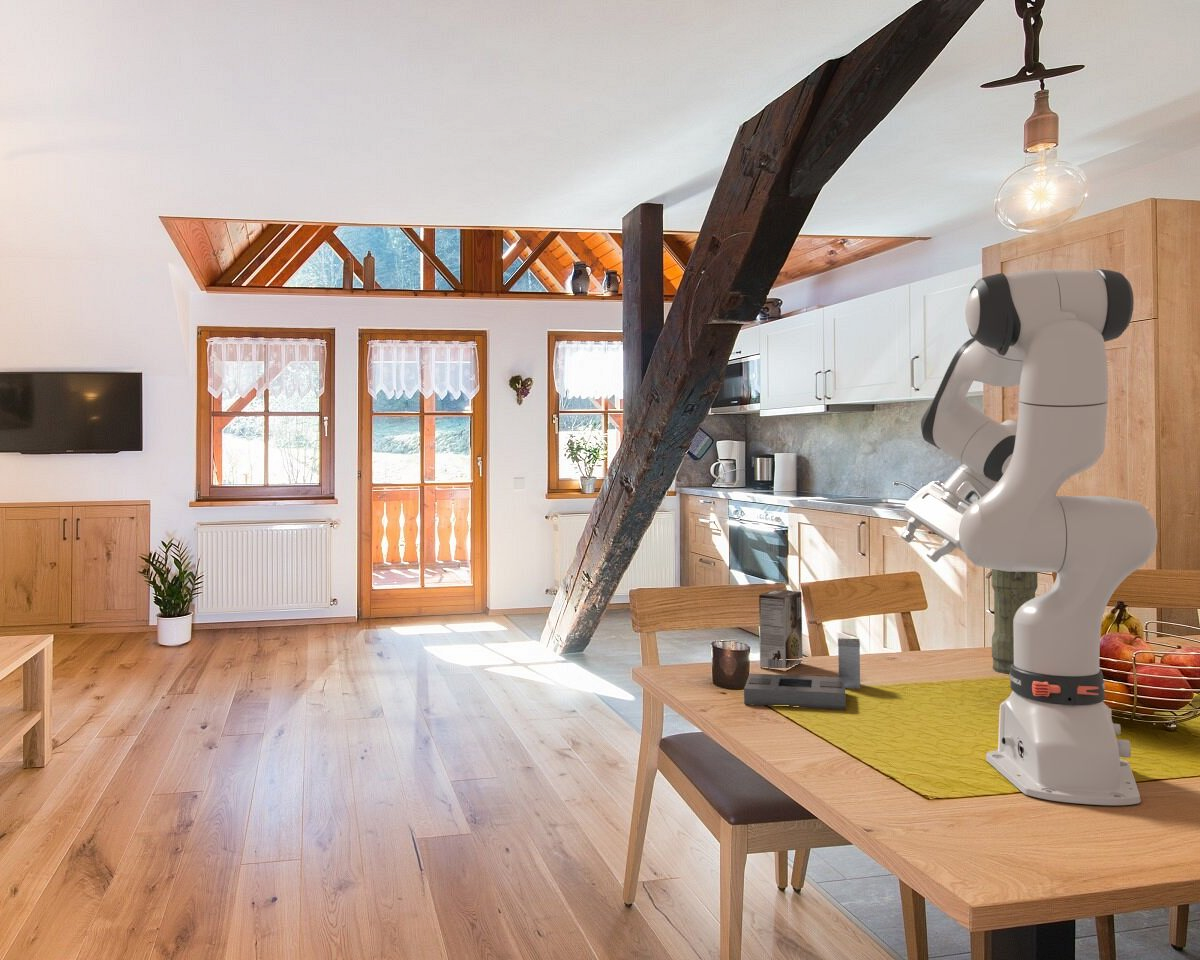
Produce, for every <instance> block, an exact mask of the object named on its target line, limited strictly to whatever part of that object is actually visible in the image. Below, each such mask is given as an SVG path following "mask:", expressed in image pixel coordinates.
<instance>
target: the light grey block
mask: <svg viewBox="0 0 1200 960" xmlns="http://www.w3.org/2000/svg"><path fill="white" fill-rule="evenodd" d="M837 647H838V648H837V649H838V655H837V656H838V657H837V658H838V677H844V679H845V689H852V690H853V689H855V688H856V689H857V690H859V689H861V655H860V654H861V652H860V649H861V641H860V639H859V638H843V637H842V638H840V637H838V638H837Z"/></svg>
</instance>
